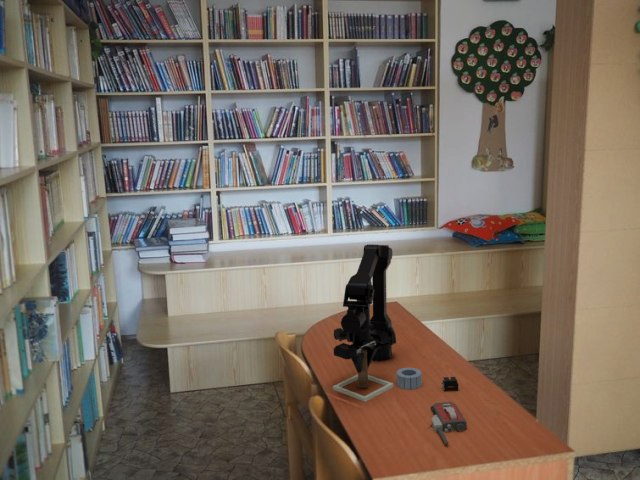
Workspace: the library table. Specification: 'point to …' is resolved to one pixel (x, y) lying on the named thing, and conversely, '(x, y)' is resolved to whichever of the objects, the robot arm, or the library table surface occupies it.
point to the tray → (358, 396)
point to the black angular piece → (449, 383)
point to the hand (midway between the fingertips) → (362, 370)
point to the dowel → (363, 371)
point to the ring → (409, 378)
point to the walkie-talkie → (447, 419)
